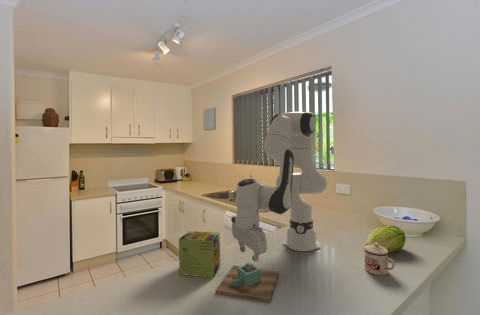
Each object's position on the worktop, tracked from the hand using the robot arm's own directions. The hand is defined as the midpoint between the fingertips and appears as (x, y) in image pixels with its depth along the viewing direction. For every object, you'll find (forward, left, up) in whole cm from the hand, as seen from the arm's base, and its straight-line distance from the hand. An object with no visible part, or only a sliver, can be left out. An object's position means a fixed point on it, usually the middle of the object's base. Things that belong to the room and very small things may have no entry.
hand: (248, 255), depth 98 cm
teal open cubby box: (+2, -1, -9) cm, 10 cm away
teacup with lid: (-22, +50, -11) cm, 56 cm away
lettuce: (-46, +57, -11) cm, 74 cm away
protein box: (-3, -23, -11) cm, 25 cm away
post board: (+1, 0, -10) cm, 10 cm away
